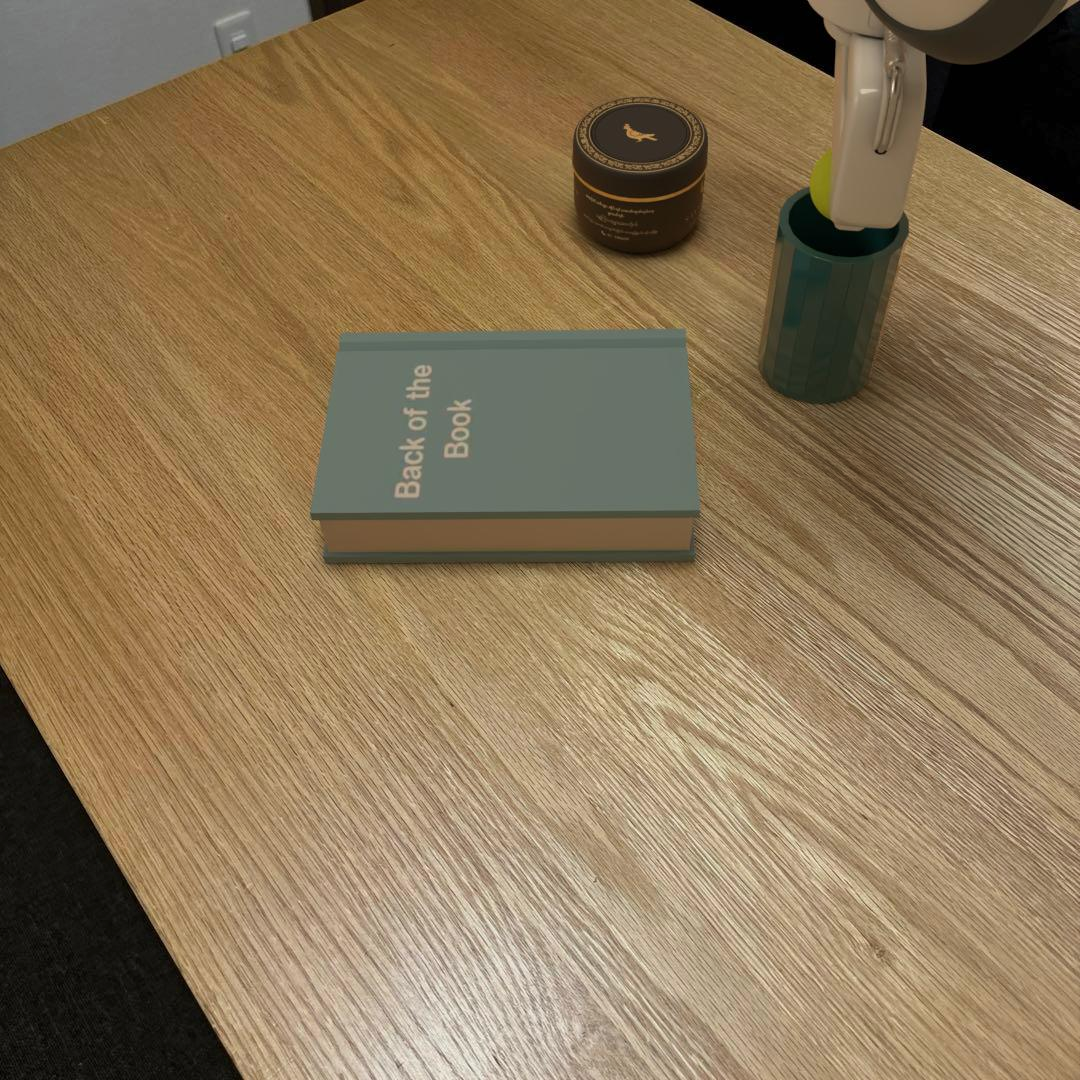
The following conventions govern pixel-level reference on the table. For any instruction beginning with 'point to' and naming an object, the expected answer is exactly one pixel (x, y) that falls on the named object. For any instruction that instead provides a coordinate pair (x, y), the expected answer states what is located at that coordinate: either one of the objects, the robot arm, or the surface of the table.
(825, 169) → the ball
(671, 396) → the book
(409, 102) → the table surface
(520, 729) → the table surface
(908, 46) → the robot arm
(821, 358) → the tube
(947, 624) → the table surface
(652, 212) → the jar
